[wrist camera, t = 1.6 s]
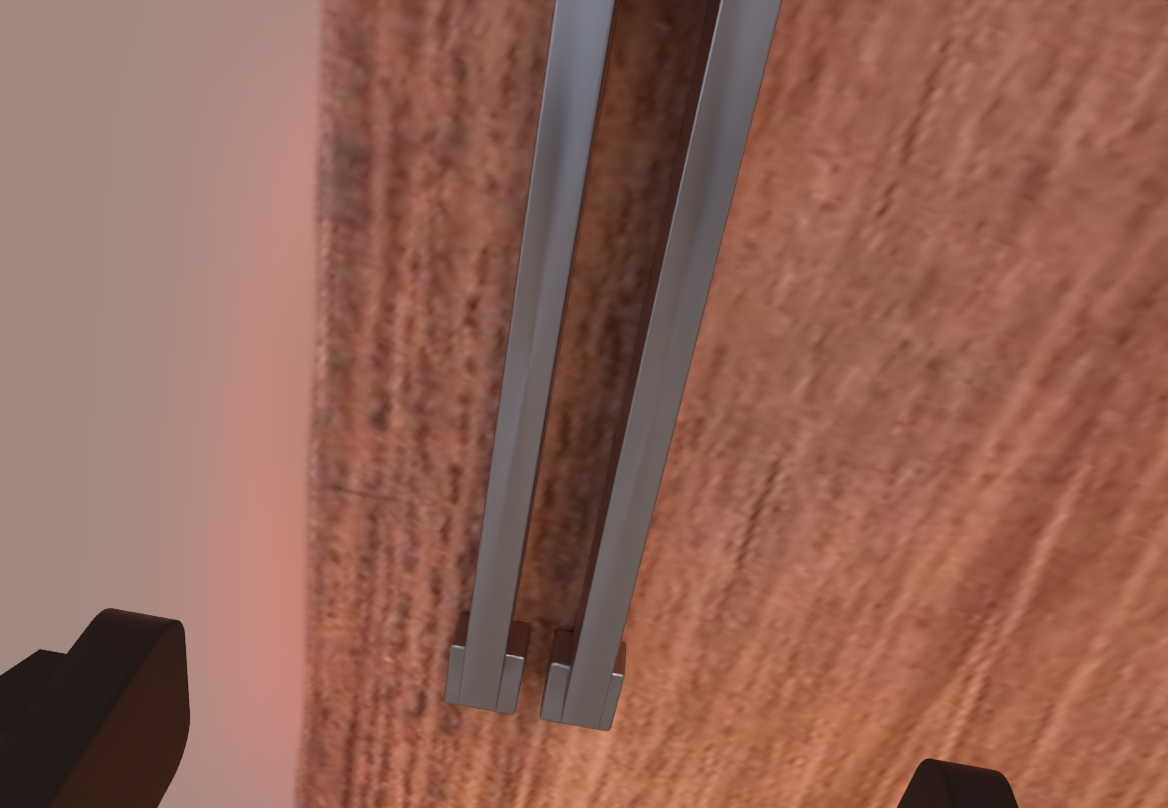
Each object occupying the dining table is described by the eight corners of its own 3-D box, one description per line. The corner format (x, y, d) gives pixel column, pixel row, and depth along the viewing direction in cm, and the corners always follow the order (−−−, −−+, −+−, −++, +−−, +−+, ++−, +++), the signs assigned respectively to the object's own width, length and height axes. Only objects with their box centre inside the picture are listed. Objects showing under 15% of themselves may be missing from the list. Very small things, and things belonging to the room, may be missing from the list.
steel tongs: (578, -297, 14) (563, -321, 12) (853, -244, 14) (883, -260, 12) (452, 667, 25) (432, 742, 23) (613, 696, 25) (607, 773, 23)
